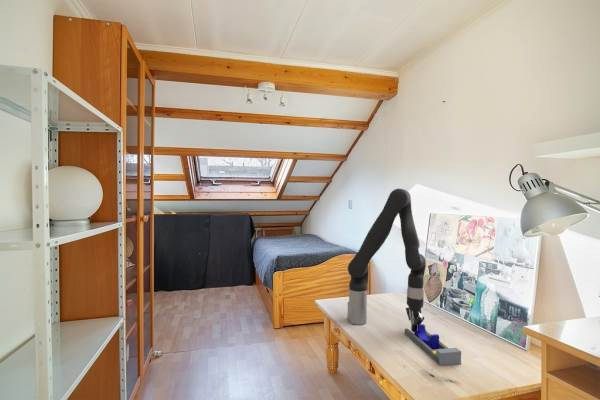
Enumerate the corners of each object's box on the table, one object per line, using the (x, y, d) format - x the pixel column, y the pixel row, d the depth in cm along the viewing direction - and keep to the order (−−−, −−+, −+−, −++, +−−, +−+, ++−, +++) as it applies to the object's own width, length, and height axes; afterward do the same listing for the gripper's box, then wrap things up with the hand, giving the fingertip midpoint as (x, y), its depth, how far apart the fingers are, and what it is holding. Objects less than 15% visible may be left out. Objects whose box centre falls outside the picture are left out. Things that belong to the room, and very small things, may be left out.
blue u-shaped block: (414, 337, 146) (414, 324, 146) (422, 336, 147) (423, 324, 147) (429, 350, 134) (429, 336, 134) (438, 349, 135) (439, 335, 135)
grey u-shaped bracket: (440, 365, 122) (440, 353, 122) (404, 333, 149) (404, 323, 149) (461, 363, 123) (461, 351, 123) (421, 332, 151) (421, 322, 151)
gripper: (401, 291, 155) (400, 325, 155) (415, 301, 142) (414, 338, 142) (414, 291, 156) (413, 324, 156) (430, 300, 143) (429, 337, 143)
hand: (414, 331), depth 149 cm, fingers closed
